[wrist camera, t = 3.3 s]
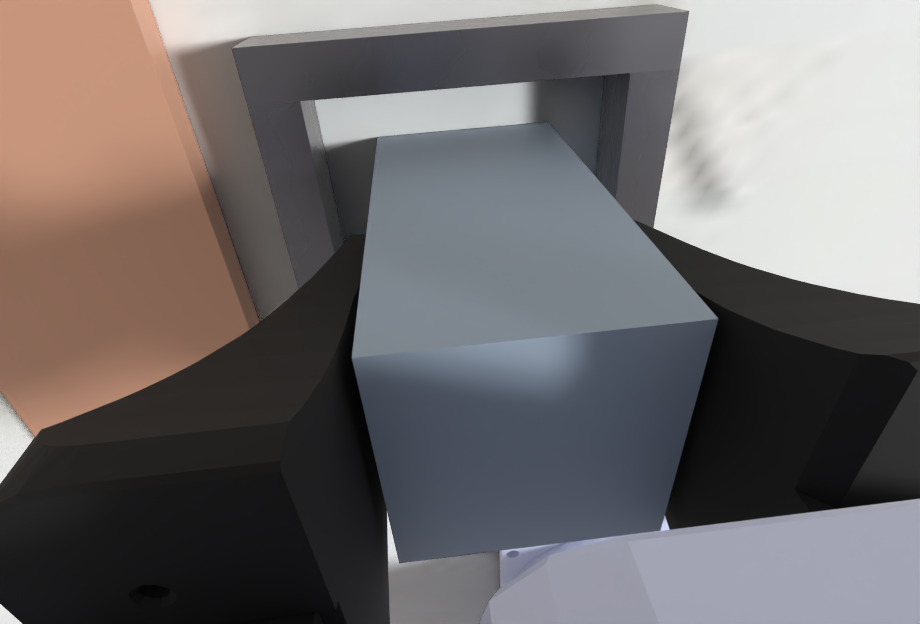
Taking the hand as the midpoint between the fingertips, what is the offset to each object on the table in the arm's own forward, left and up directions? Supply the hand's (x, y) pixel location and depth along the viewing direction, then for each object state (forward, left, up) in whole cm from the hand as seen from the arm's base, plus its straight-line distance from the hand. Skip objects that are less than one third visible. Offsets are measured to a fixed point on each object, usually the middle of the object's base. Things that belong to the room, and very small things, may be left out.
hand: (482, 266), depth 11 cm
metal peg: (0, 0, -3) cm, 3 cm away
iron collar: (0, 0, -3) cm, 3 cm away
